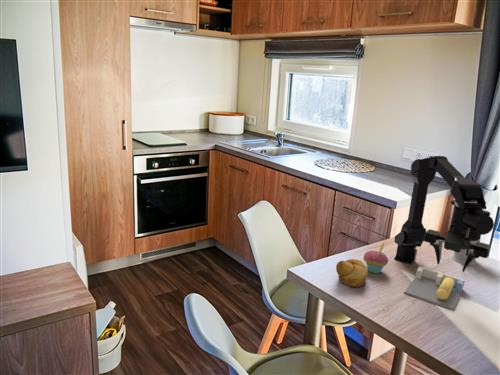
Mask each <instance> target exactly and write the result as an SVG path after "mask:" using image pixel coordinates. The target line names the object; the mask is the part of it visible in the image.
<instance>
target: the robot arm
mask: <svg viewBox="0 0 500 375" xmlns="http://www.w3.org/2000/svg"><path fill="white" fill-rule="evenodd" d="M436 174H438V175H439V176H440V177H441V178H442V179H443V180H444V181H445V182H446V184H448V186H449V188H450V190H449V191H450V194H451V195H452V197H453V198H454V199H453V200H450V204H451V205H452V206H453V209H452V213H451V219H450V224H449V228H448V231H447V232H446V236H444V235H441V231H439V230H435V229H428V230H427V228H425V226H424V224H423V217H424V211H425V207H426V200H427V195H428V189H429V185H430V184H431V183H432V181H434V180H435V178H436ZM410 177H411V179H412V180H413V187H412V192H411V199H410V205H409V210H408V217H407V220H406V221H405V222H404V223H403V224H402V225H401V229H400V232H398V233H397V234H396V235H394V244H396V245H397V248H396V253H395V256H394V257H393V259H394V260H397V261H400V262H402V263H405V264H409V265H412V263H413V262H415V261H416V259H417V254H418V249H417V248H419V247H420V248H421V246H422V245H423V243H424V242H425V243H428V244H429V245H430V246H432V247H433V249H434V252H435V257H436V261H437V262H436V263H437V265H440V263H441V259H442V250H443V248H444V249H445V250H446V251H448V250H449V251H451V252H452V251H453V252H454V251H455V252H457V253H459V252H461V249H463V250H465V249H466V250H468V249H470V252H469V254H468V257H467V259H466V262H465V264H463V267H462V272H464V273H465V270H466V269H467V267H469V266H470V265H469V263H470V262H471V261H472V260H473V259H474V258H476V259H479V258H483V259H488V257H489V254H490V253H491V252H490V251H491V248H492V247H491V245H490V244H488V243H485V242H481V241H480V242H477V243H476V245H475V244H471V239H470V238H468V235H469V231H470V229H472V230H474V231H475V232H477V233H479V234H481V236H482V235H483V236H484V235H487V234H489V233H490V232H491V231H493V228H494V226H495V223H494V219H493V218H492V217H491V212H490V211H488V210H486V209H487V205H486V204H487V202H486V199H485V196H484V192H483V188H482V186H481V185H480V184H479V183H477V182H476V181H474V180H471V179H470V178H467V177H466V176H464V175H463V174H462V173H461V172H460V171H459V170H458V169H457V168H456V167H455V166H454V165H453V164H452V163H451V162H450V161H449V159H448V157H447V156H444V155H431V156H429V157H425V158H421V159H419V158H418V159H417V158H416V159H415V160H414V161H412V163H411V164H410Z"/></svg>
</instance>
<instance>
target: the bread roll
mask: <svg viewBox="0 0 500 375" xmlns="http://www.w3.org/2000/svg"><path fill="white" fill-rule="evenodd" d="M335 269H336V273H337V274H338V279H339V281H340V282H341V283H342V284H343V285H345V286H348V287H353V288H357V287H360V286H363V285H364V284H365V282H366V281H367V279H368V278H367V277H368V275H369V274H368V273H369V270H368V269H367V264H365V263H364V262H363V261H362V260H360V259H354V258H350V259H347V260H340V261H338V262H337V263H336V266H335Z"/></svg>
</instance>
